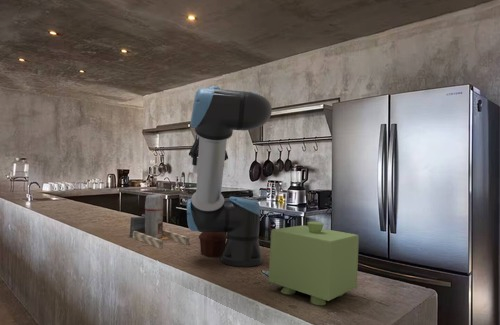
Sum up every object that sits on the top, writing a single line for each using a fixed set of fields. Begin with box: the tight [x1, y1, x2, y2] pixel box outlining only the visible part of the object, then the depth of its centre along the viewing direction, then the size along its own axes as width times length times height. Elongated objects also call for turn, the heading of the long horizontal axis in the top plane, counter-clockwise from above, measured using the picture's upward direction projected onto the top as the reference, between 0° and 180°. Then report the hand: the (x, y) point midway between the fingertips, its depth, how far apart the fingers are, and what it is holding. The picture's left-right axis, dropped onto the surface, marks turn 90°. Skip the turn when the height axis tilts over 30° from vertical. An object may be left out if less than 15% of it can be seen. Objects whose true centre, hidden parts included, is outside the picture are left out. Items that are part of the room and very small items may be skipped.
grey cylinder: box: [144, 193, 164, 238], centre depth 157 cm, size 8×8×20 cm
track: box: [129, 216, 190, 249], centre depth 154 cm, size 27×14×9 cm, turn 44°
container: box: [268, 220, 360, 306], centre depth 97 cm, size 19×16×20 cm
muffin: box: [198, 232, 227, 257], centre depth 135 cm, size 12×11×10 cm
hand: (208, 174), depth 147 cm, fingers open, 13 cm apart
